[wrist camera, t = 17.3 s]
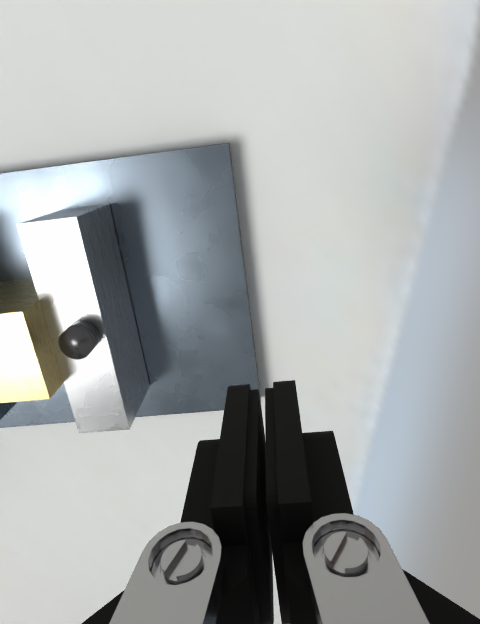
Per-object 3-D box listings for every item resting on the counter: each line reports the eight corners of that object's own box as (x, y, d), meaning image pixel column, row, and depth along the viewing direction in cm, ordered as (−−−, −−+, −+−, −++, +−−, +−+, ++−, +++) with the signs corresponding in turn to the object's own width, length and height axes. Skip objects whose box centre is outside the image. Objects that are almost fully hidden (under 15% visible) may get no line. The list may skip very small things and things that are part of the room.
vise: (260, 397, 26) (260, 453, 21) (2, 418, 27) (-52, 475, 23) (229, 143, 21) (219, 142, 16) (-83, 185, 22) (-174, 195, 18)
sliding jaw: (149, 386, 25) (123, 442, 20) (106, 389, 25) (70, 446, 20) (109, 204, 21) (65, 220, 16) (59, 210, 21) (2, 228, 17)
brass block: (95, 344, 24) (49, 398, 19) (8, 352, 24) (-60, 408, 19) (77, 273, 23) (22, 311, 17) (-15, 283, 23) (-95, 324, 18)
